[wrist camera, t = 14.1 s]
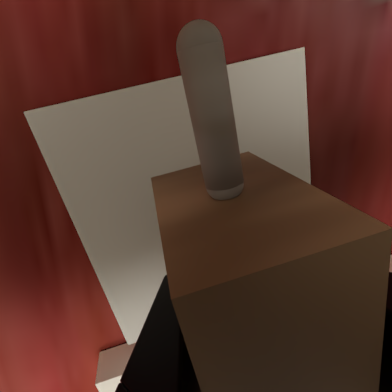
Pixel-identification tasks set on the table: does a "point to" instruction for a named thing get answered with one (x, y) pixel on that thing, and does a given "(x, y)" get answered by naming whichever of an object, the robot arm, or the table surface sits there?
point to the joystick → (265, 257)
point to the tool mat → (158, 164)
